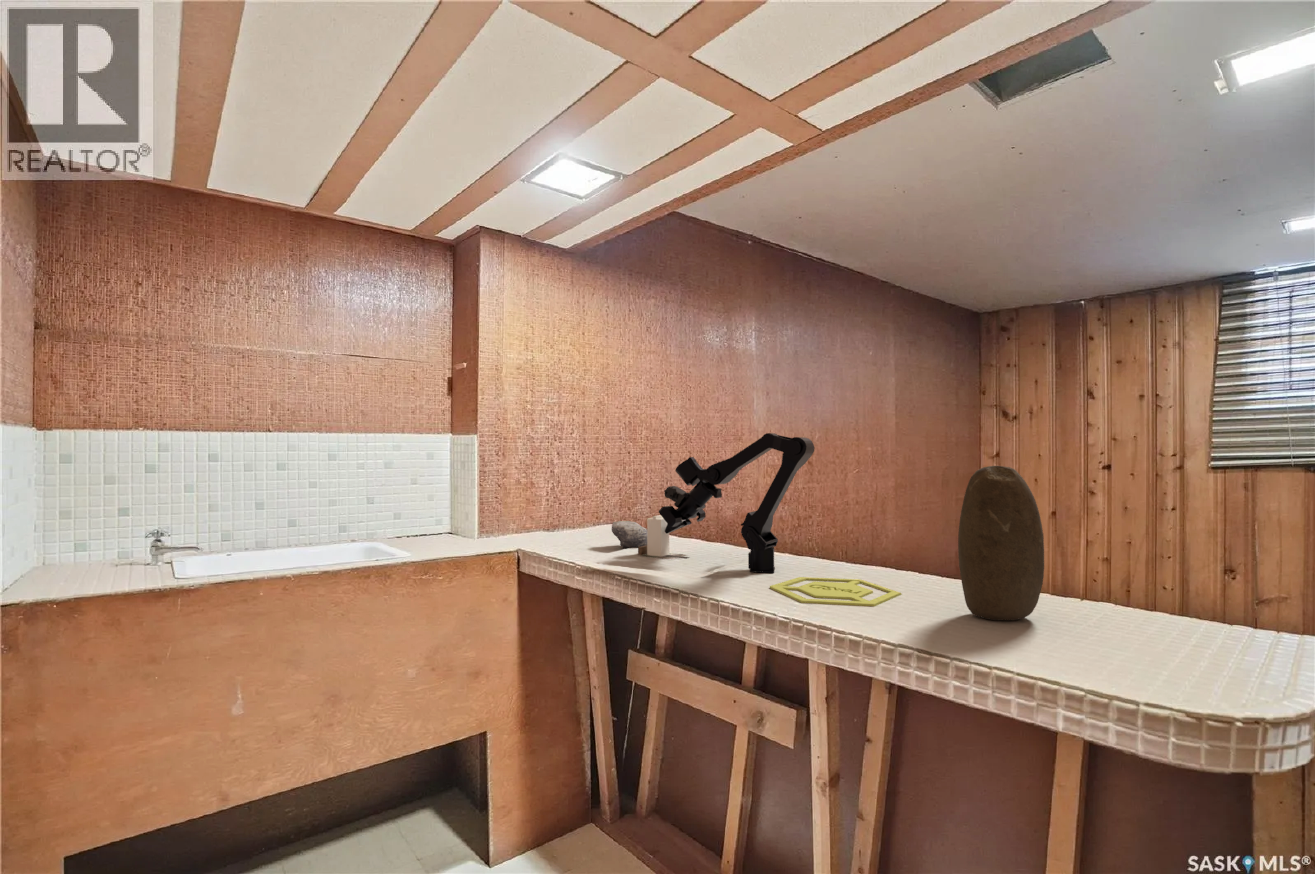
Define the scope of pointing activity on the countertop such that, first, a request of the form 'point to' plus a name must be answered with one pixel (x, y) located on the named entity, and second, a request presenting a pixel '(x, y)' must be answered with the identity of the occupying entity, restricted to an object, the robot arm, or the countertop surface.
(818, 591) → the logo
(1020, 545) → the stone
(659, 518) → the white rectangular block
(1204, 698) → the countertop surface
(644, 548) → the switch board
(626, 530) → the rock
